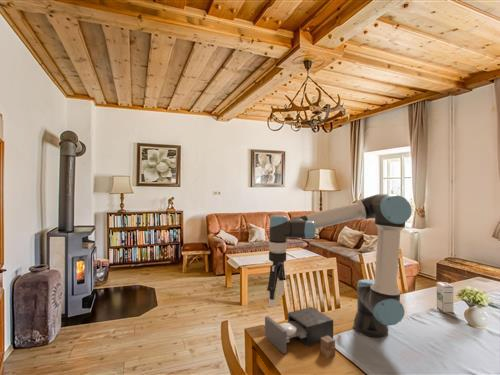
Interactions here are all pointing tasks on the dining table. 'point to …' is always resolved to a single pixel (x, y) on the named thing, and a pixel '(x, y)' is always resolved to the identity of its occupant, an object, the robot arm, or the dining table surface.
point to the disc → (289, 329)
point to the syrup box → (445, 297)
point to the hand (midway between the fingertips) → (276, 300)
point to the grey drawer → (281, 333)
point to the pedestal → (327, 346)
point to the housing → (312, 325)
